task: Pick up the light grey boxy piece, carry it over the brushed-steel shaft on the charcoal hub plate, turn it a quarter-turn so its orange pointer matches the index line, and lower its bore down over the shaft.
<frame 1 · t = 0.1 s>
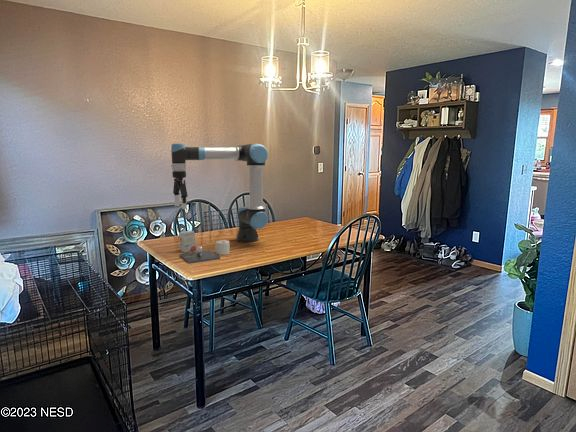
hand: (180, 207, 228), 28 cm above the table, fingers open, 13 cm apart
light grey boxy piece: (222, 253, 235), on the table
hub: (199, 257, 226), on the table
ink box: (187, 250, 241), on the table
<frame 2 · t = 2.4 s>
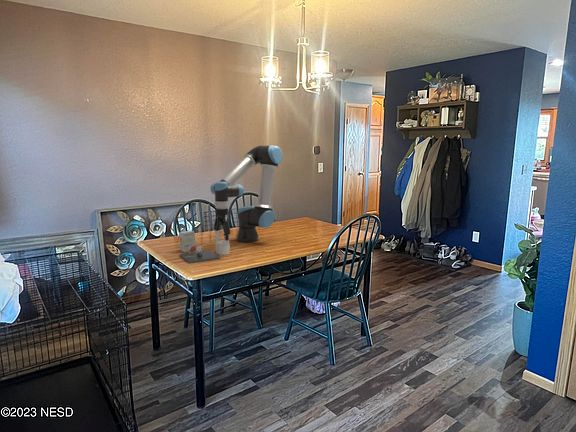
hand: (221, 243, 234), 6 cm above the table, fingers open, 13 cm apart
nothing on the table moved.
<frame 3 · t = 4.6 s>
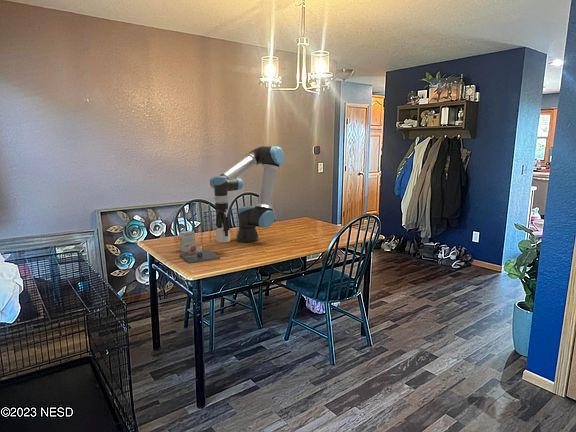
hand: (223, 239, 234), 8 cm above the table, fingers closed on light grey boxy piece, 8 cm apart
light grey boxy piece: (223, 240, 234), point 8 cm above the table, touching gripper
everything else where it was.
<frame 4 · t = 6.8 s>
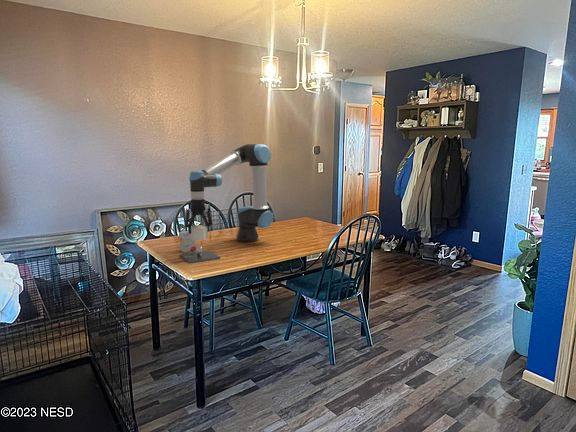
hand: (199, 238, 224), 11 cm above the table, fingers closed on light grey boxy piece, 8 cm apart
light grey boxy piece: (199, 238, 224), point 11 cm above the table, touching gripper
everything else where it was.
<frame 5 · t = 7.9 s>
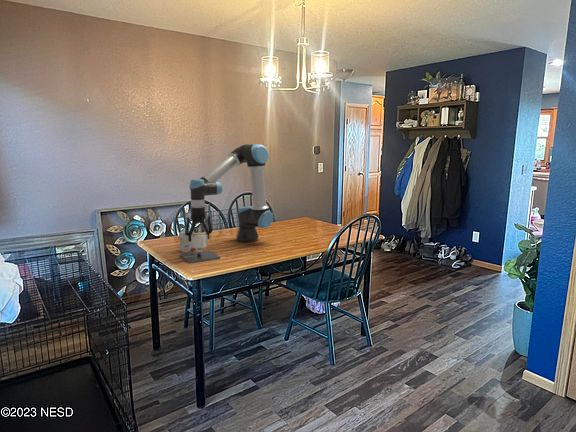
hand: (199, 246, 224), 7 cm above the table, fingers closed on light grey boxy piece, 8 cm apart
light grey boxy piece: (199, 246, 224), point 6 cm above the table, touching gripper
everything else where it was.
when the fingers open (3 cm above the table, at t = 9.1 s): light grey boxy piece drops 2 cm, resting on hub.
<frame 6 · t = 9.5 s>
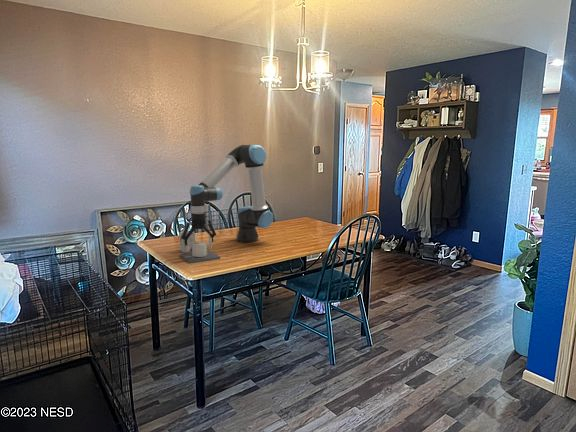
hand: (199, 249, 225), 5 cm above the table, fingers open, 13 cm apart
light grey boxy piece: (199, 255, 225), point 1 cm above the table, touching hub
everything else where it was.
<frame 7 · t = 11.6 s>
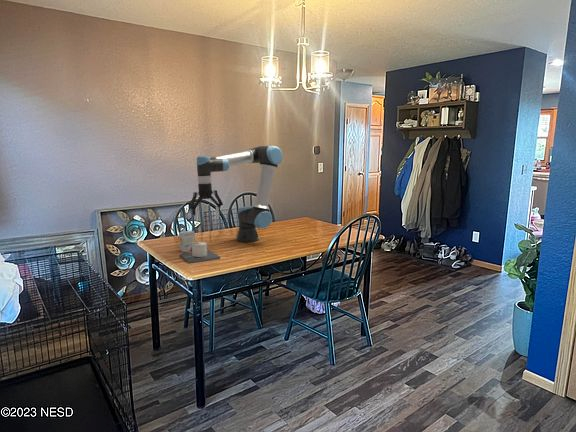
hand: (207, 218, 232), 21 cm above the table, fingers open, 13 cm apart
nothing on the table moved.
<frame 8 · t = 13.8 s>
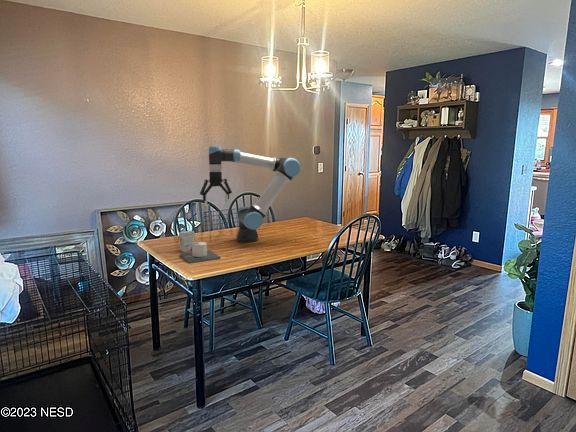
hand: (216, 205, 246), 27 cm above the table, fingers open, 13 cm apart
nothing on the table moved.
at the end: light grey boxy piece 0.0 cm from the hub (horizontally); light grey boxy piece point 1.3 cm above the table; the gripper is holding nothing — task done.
